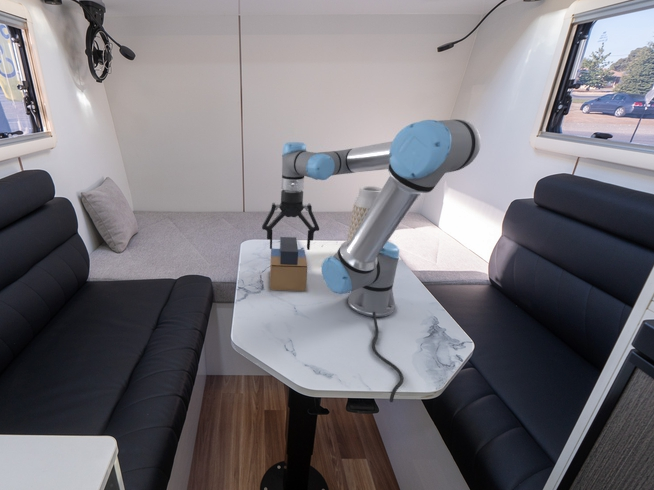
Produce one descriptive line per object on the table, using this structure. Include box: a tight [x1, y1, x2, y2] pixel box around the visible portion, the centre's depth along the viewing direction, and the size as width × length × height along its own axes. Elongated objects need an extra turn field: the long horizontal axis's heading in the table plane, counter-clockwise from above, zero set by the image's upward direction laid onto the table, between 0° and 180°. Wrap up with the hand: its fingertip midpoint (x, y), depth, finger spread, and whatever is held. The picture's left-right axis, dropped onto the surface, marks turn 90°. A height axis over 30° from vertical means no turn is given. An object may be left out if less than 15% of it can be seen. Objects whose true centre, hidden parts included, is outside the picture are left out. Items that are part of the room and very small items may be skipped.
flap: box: [270, 247, 307, 258], centre depth 141 cm, size 7×13×1 cm, turn 88°
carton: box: [269, 255, 308, 292], centre depth 140 cm, size 15×13×10 cm
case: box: [279, 236, 299, 265], centre depth 137 cm, size 14×6×5 cm, turn 178°
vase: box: [346, 185, 382, 241], centre depth 156 cm, size 14×14×31 cm
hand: (289, 248), depth 136 cm, fingers open, 13 cm apart
